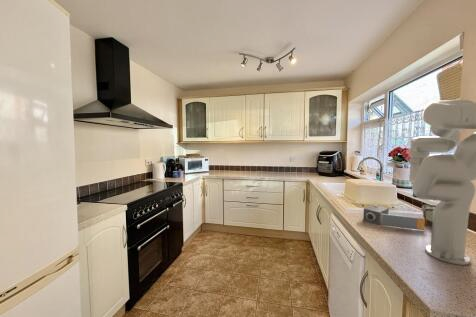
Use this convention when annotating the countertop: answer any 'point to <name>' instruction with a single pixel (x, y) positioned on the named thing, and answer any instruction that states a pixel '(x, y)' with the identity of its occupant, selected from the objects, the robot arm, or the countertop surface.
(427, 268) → the countertop surface
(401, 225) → the side door
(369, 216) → the camera housing
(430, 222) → the food container
